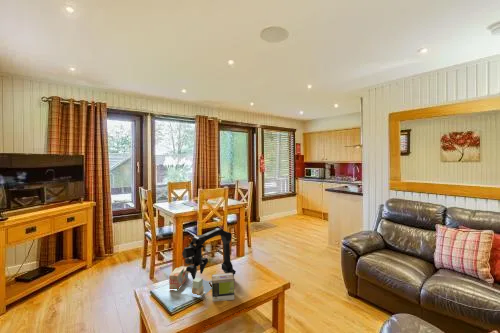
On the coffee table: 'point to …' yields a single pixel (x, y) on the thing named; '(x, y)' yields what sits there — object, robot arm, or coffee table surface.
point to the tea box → (222, 287)
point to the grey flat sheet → (206, 287)
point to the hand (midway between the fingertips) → (197, 276)
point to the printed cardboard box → (177, 277)
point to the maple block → (198, 290)
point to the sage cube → (197, 283)
